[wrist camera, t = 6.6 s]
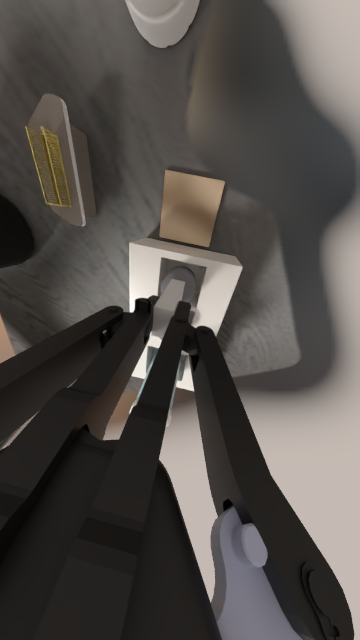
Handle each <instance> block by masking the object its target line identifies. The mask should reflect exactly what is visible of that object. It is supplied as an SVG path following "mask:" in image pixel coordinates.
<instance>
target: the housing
mask: <svg viewBox="0 0 360 640" xmlns="http://www.w3.org/2000/svg"><path fill="white" fill-rule="evenodd" d="M177 266H185V267H188V268H190V269H191V270H192V271H193V272H194V274H195V276H196V286H195V290H194V295H193V298H192V299H191V301H190V302H189V303H190V305H191V309H190V314H189V319H188V322H189V324H190V325H191V326H193V327H195V328H197V327H198V326H207V327H209V328H211V329H212V330H213V332H214V334H215V336H217V333H218V331H219V328H220V325H221V323H222V320H223V318H224V315H225V312H226V310H227V307H228V305H229V302H230V299H231V297H232V294H233V292H234V289H235V286H236V284H237V281H238V279H239V276H240V273H241V271H242V268H243V266H242V265H241V264H240V262H239V261H238V259H237V258H236V256H231V255H227V254H222V253H217V252H212V251H208V250H203V249H198V248H194V247H189V246H184V245H179V244H175V243H170V242H165V241H161V240H156V239H151V238H144V239H140V240H137V241H133V242H130V243H129V270H130V312H133V311H134V310H135V300H136V299H137V298H147V299H148V298H149V297H150V296H152V295H155V296H161V295H162V294H161V284H162V281H163V280H164V279H165V277H166V276H167V275H168V273H169V272H170V271H171V270H172V269H173V268H175V267H177ZM151 333H152V331H151ZM151 333H150V338H149V341H148V343H147V345H146V347H145V349H144V351H143V353H142V355H141V357H140V359H139V361H138V363H137V365H136V367H135V369H134V371H133V373H132V375H131V376H135V377H139V378H143V379H145V377H146V374H147V372H148V369H149V367H150V364H151V362H152V360H153V357H154V355H155V352H156V350H157V348H159V347H160V344H161V342H162V340H161V339H160V338H159V337H156V336H152V335H151ZM181 354H182V359H181V364H180V369H179V374H178V379H177V383H176V387H179V388H183V389H187V390H191V391H194V387H193V381H192V375H191V368H190V362H189V354H188V353H186V352H184V351H183V350H182V352H181Z"/></svg>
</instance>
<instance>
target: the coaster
mask: <svg viewBox="0 0 360 640" xmlns="http://www.w3.org/2000/svg"><path fill="white" fill-rule="evenodd" d="M224 184H225V181H221V180H216V179H211V178H206V177H200V176H195V175H190V174H185V173H180V172H175V171H170V170H165V179H164V190H163V202H162V213H161V225H160V236H159V237H162V238H167V239H171V240H176V241H181V242H186V243H190V244H195V245H200V246H204V247H209V244H210V240H211V236H212V232H213V228H214V224H215V220H216V216H217V212H218V208H219V204H220V200H221V196H222V192H223V188H224Z"/></svg>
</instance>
